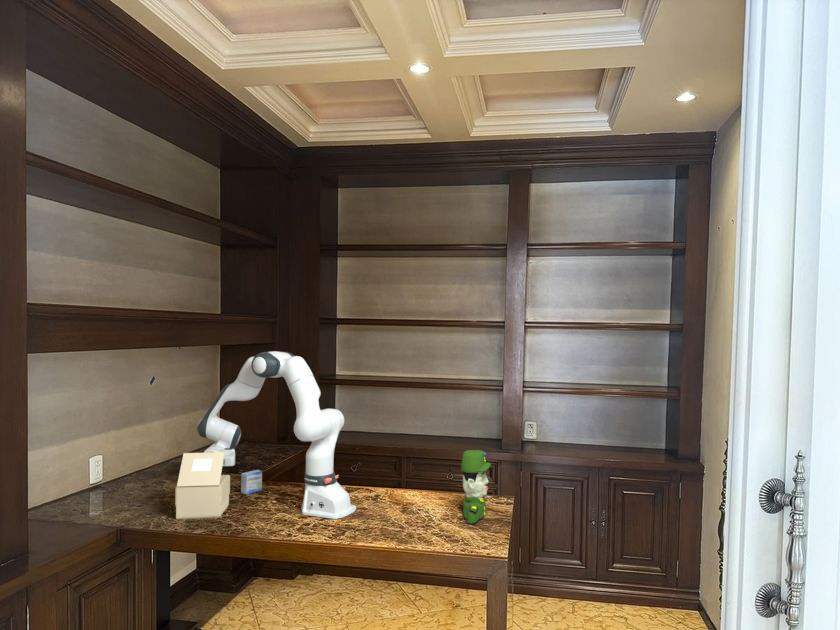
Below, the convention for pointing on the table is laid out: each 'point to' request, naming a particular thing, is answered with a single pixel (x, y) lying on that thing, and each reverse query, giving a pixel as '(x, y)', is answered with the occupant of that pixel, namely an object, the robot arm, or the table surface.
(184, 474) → the carton flap
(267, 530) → the table surface
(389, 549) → the table surface
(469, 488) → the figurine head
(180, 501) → the carton
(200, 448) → the table surface
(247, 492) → the medicine box
